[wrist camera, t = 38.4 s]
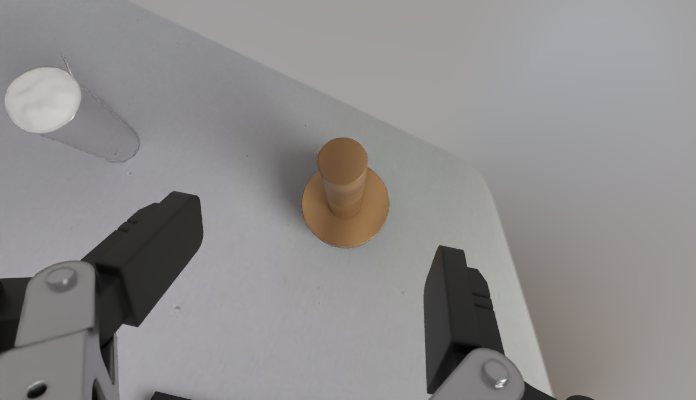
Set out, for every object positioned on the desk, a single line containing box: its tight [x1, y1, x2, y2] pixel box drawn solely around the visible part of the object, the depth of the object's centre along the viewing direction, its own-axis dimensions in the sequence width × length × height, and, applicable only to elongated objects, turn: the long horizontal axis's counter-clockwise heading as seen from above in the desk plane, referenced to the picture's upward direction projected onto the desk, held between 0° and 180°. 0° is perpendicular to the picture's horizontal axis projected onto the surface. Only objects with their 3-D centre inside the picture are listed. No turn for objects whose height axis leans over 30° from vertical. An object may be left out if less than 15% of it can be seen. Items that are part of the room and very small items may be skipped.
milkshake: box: [5, 52, 139, 162], centre depth 26 cm, size 5×5×10 cm
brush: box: [302, 138, 389, 248], centre depth 23 cm, size 6×6×13 cm
